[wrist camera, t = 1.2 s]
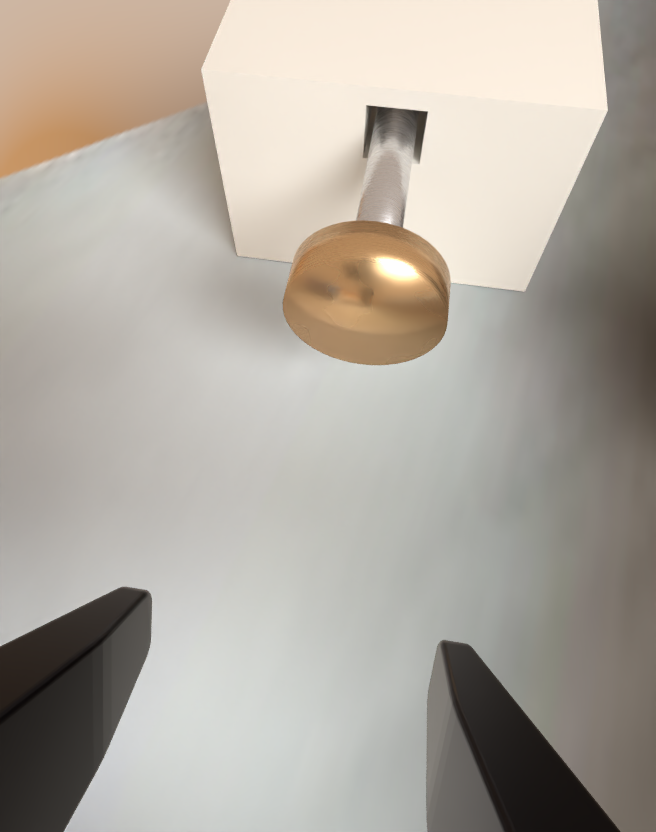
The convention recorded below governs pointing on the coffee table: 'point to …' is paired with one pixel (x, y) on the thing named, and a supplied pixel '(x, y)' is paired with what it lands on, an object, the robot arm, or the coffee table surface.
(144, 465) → the coffee table surface
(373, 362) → the plunger
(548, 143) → the press block
